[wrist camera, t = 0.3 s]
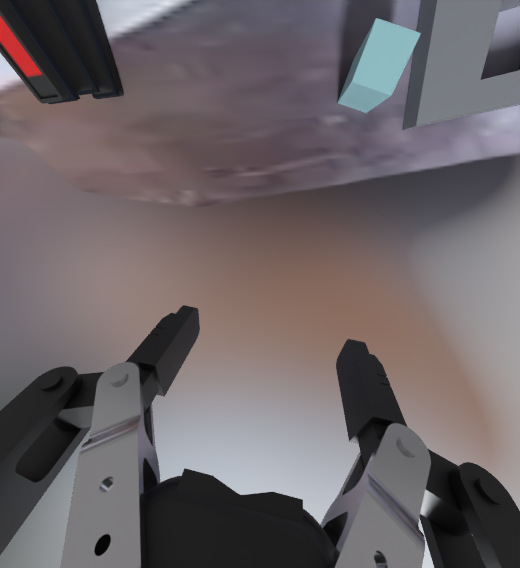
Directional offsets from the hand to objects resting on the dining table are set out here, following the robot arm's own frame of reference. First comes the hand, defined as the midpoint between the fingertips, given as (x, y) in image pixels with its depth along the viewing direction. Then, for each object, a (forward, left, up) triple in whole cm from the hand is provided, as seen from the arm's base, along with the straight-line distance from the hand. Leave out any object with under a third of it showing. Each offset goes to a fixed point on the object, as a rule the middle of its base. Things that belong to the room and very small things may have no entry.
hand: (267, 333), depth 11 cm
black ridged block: (-12, -31, -28) cm, 43 cm away
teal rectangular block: (-17, +3, -28) cm, 33 cm away
